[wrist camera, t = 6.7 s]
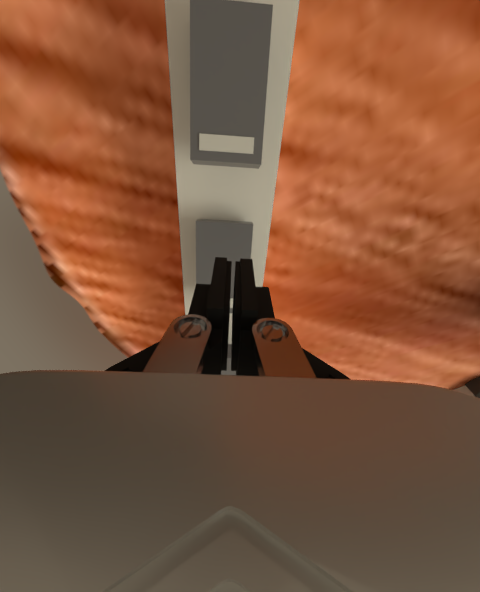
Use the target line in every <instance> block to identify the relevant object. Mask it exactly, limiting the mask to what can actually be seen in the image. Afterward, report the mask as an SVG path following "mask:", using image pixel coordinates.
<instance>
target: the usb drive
mask: <svg viewBox="0 0 480 592" xmlns="http://www.w3.org/2000/svg"><path fill="white" fill-rule="evenodd" d="M453 390H455V391H459V392H462V393H465V394H468V395H471V396H474V397H477V398H480V377H478V378H475V379H473V380H471V381H470V382H468V383H466V384H465V386H462V387H459V388H456V389H453Z"/></svg>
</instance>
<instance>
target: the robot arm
mask: <svg viewBox="0 0 480 592" xmlns="http://www.w3.org/2000/svg"><path fill="white" fill-rule="evenodd" d="M231 267H232V261H227V258H225V257H215V262H214V268H213V274H212V280H211V284H196V286H195V290H194V294H193V298H192V302H191V305H190V309H189V313H188V315H183V316H181V317H178V318H176V319H175V320H173V322H172V323H171V324H170V326H169V327H168V329H167V331H166V332H165V334H164V336H163V337H162V339H161V341H160V342H158V343H156V344H154V345H152V346H150V347H148V348H146V349H144V350H142V351H141V352H139V353H137V354H135V355H133V356H131V357H129V358H127V359H125V360H123V361H121V362H119V363H117V364H115V365H114V366H112V367H110V368H108V369H107V370H105V371H85V370H33V371H18V372H10V373H3V374H0V592H480V398H477V397H474V396H471V395H468V394H465V393H462V392H459V391H455V390H450V389H446V388H441V387H437V386H431V385H424V384H417V383H404V382H390V381H373V380H351V379H349V378H348V377H347V376H345V375H344V374H342V373H341V372H339V371H338V370H336V369H334V368H333V367H331V366H330V365H328V364H326V363H325V362H323V361H322V360H320V359H318V358H317V357H315V356H314V355H312V354H311V353H309V352H307V351H306V350H304V349H303V348H301V346H300V344H299V342H298V340H297V338H296V336H295V334H294V332H293V330H292V328H291V327H290V326H289V325H288V324H287V323H286V322H284V321H282V320H279V319H275V317H274V312H273V307H272V302H271V297H270V292H269V288H268V287H256V286H255V278H254V269H253V261H252V259H243V258H240V261H236V262H235V277H234V294H233V311H232V347H231V371H236V375H221V371H227V354H228V335H229V317H230V293H231Z"/></svg>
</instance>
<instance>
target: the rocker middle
mask: <svg viewBox="0 0 480 592" xmlns="http://www.w3.org/2000/svg"><path fill="white" fill-rule="evenodd" d="M252 235H253V223H252V222H246V221H229V220H211V219H197V220H196V284H211V280H212V274H213V268H214V262H215V257H225V258H227V261H232V267H231V293H230V313H232V311H233V294H234V277H235V262H236V261H240V258H243V259H251V248H252Z"/></svg>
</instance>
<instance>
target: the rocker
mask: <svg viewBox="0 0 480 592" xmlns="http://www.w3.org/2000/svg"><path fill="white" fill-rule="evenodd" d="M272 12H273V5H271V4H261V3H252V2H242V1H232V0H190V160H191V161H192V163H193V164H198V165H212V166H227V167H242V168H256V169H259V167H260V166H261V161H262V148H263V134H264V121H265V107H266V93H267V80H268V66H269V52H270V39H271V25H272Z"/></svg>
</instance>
